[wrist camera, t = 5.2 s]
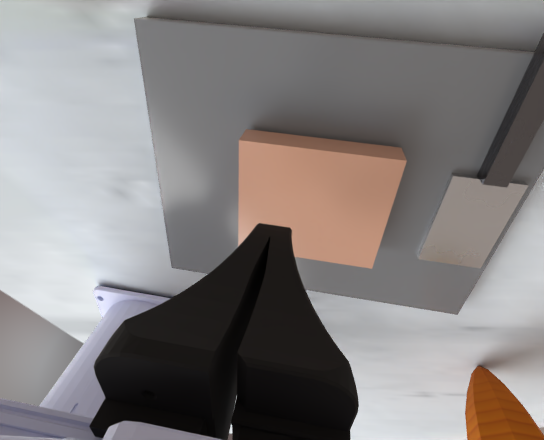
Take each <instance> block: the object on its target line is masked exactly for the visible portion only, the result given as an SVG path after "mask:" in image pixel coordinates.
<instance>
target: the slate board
mask: <svg viewBox="0 0 544 440" xmlns="http://www.w3.org/2000/svg"><path fill="white" fill-rule="evenodd" d="M134 22H135V28H136V35H137V42H138V48H139V55H140V61H141V68H142V75H143V81H144V88H145V94H146V101H147V108H148V114H149V121H150V127H151V134H152V140H153V147H154V154H155V160H156V167H157V173H158V180H159V187H160V193H161V200H162V206H163V213H164V220H165V226H166V233H167V239H168V246H169V253H170V259H171V266H172V268H176V269H182V270H188V271H195V272H201V273H207V274H209V273H210V272H211V271H213V270H214V269H215V268H216V267H217V266H218V265H220V264H221V263H222V262H223V261H224V260H225V259H226V258H227V257H228V256H229V255H230V254H231V253H232V252H233V251H234V250H235V249H236V248H237V247H238V202H239V139H240V138H241V136H242V135H243V133H244V132H245V130H246V129H250V130H258V131H267V132H275V133H283V134H292V135H300V136H308V137H317V138H325V139H333V140H342V141H350V142H358V143H367V144H375V145H383V146H392V147H400V148H402V150H403V153H404V155H405V157H406V160H407V162H406V165H405V168H404V171H403V175H402V178H401V181H400V184H399V187H398V190H397V193H396V196H395V199H394V202H393V205H392V208H391V212H390V215H389V218H388V221H387V224H386V227H385V230H384V233H383V236H382V239H381V242H380V246H379V249H378V252H377V255H376V258H375V261H374V264H373V267H372V269H370V268H364V267H357V266H351V265H344V264H338V263H332V262H325V261H319V260H312V259H306V258H299V257H295V260H296V264H297V268H298V271H299V274H300V277H301V280H302V283H303V286H304V288H305V290H310V291H316V292H322V293H328V294H335V295H341V296H347V297H353V298H359V299H365V300H371V301H377V302H383V303H389V304H395V305H402V306H408V307H414V308H420V309H426V310H432V311H438V312H444V313H450V314H456V315H458V313H459V311H460V309H461V308H462V306H463V304H464V303H465V301H466V299H467V298H468V296H469V294H470V293H471V291H472V289H473V287H474V286H475V284H476V282H477V281H478V279H479V277H480V276H481V274H482V272H483V271H484V269H485V267H486V266H487V264H488V262H489V260H490V259H491V257H492V255H493V254H494V252H495V250H496V249H497V247H498V245H499V244H500V242H501V240H502V238H503V237H504V235H505V233H506V232H507V230H508V228H509V227H510V225H511V223H512V222H513V220H514V218H515V216H516V215H517V213H518V211H519V210H520V208H521V206H522V205H523V203H524V201H525V200H526V198H527V196H528V194H529V193H530V191H531V189H532V188H533V186H534V184H535V183H536V181H537V179H538V178H539V176H540V174H541V172H542V171H543V169H544V120H543V122H542V124H541V126H540V128H539V129H538V131H537V133H536V135H535V137H534V139H533V141H532V142H531V144H530V146H529V148H528V150H527V152H526V154H525V155H524V157H523V159H522V161H521V163H520V165H519V166H518V168H517V170H516V172H515V174H514V176H513V178H512V179H511V181H519V182H526V183H527V184H528V185H529V186H528V187H527V189H526V191H525V193H524V194H523V196H522V198H521V200H520V201H519V203H518V205H517V206H516V208H515V210H514V212H513V213H512V215H511V217H510V218H509V220H508V222H507V224H506V225H505V227H504V229H503V231H502V232H501V234H500V236H499V237H498V239H497V241H496V243H495V244H494V246H493V248H492V249H491V251H490V253H489V255H488V256H487V258H486V260H485V261H484V263H483V265H482V267H481V268H474V267H467V266H460V265H454V264H447V263H440V262H434V261H427V260H421V259H418V257H417V254H418V252H419V249H420V247H421V245H422V242H423V240H424V237H425V235H426V233H427V230H428V228H429V225H430V223H431V221H432V218H433V216H434V213H435V211H436V209H437V206H438V204H439V202H440V199H441V197H442V194H443V192H444V190H445V187H446V185H447V182H448V180H449V178H450V175H451V173H455V174H463V175H471V176H477V174H478V172H479V170H480V168H481V166H482V163H483V161H484V159H485V157H486V155H487V153H488V151H489V149H490V146H491V144H492V142H493V140H494V138H495V136H496V134H497V131H498V129H499V127H500V125H501V123H502V121H503V119H504V117H505V114H506V112H507V110H508V108H509V106H510V104H511V102H512V99H513V97H514V95H515V93H516V91H517V89H518V87H519V85H520V82H521V80H522V78H523V76H524V74H525V72H526V70H527V67H528V65H529V63H530V61H531V59H532V57H533V55H534V53H535V52H531V51H519V50H508V49H497V48H486V47H475V46H464V45H452V44H441V43H430V42H419V41H408V40H397V39H385V38H374V37H363V36H352V35H341V34H330V33H318V32H307V31H296V30H285V29H274V28H263V27H251V26H240V25H229V24H218V23H207V22H196V21H184V20H173V19H162V18H151V17H142V18H134Z"/></svg>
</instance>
